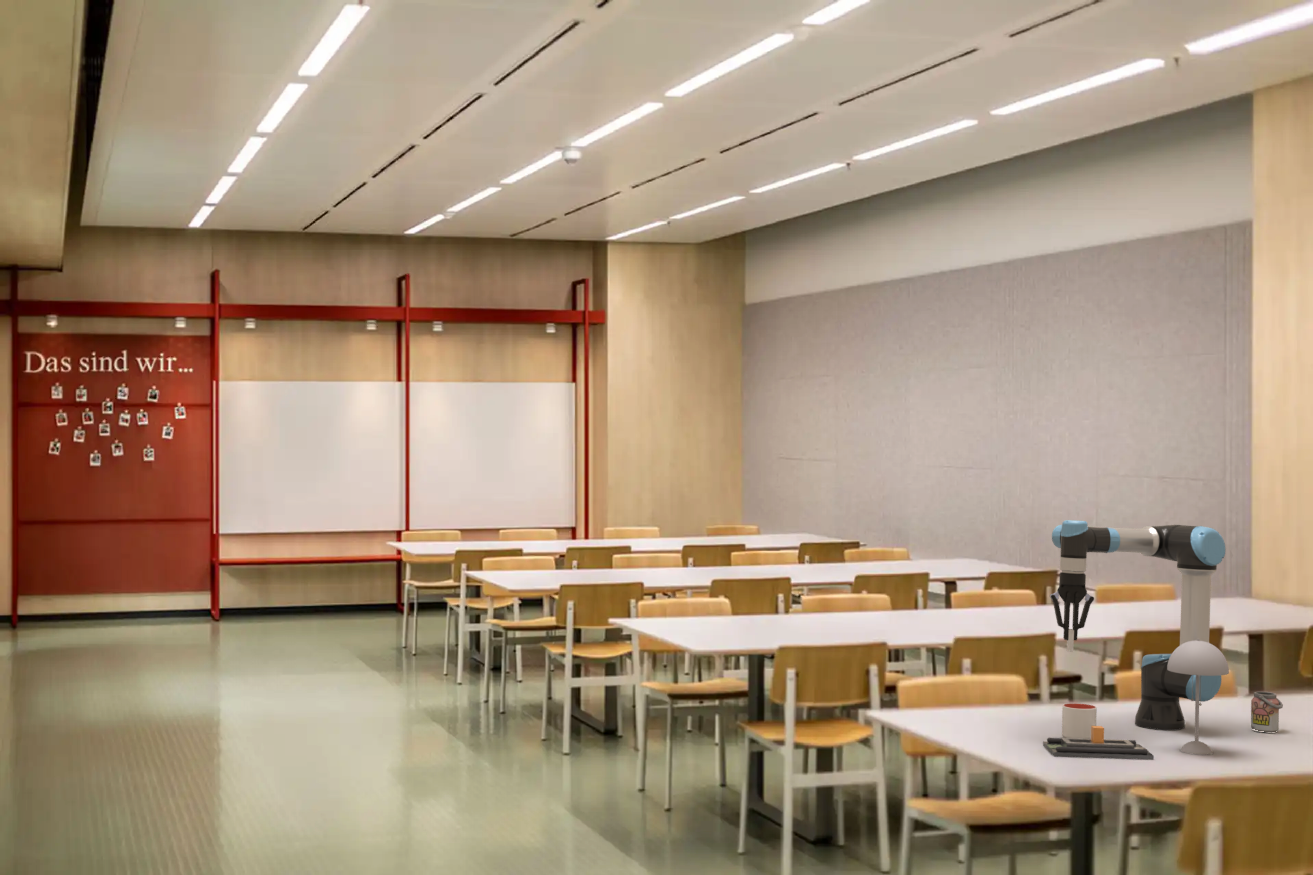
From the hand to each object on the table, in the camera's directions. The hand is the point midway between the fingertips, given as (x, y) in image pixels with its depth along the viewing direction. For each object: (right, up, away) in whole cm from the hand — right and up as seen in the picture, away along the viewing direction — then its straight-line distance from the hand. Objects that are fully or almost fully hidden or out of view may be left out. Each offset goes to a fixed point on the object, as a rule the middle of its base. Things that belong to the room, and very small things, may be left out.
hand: (1069, 651), depth 446 cm
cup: (+5, -28, +9) cm, 30 cm away
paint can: (+70, -30, +27) cm, 80 cm away
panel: (+5, -28, -11) cm, 30 cm away
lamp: (+35, -29, -7) cm, 46 cm away
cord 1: (+5, -27, -4) cm, 28 cm away
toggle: (+5, -27, -11) cm, 29 cm away
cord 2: (+4, -27, -17) cm, 32 cm away
